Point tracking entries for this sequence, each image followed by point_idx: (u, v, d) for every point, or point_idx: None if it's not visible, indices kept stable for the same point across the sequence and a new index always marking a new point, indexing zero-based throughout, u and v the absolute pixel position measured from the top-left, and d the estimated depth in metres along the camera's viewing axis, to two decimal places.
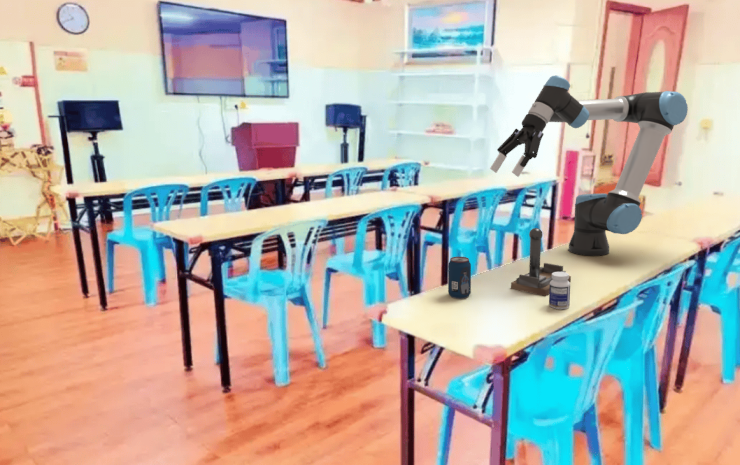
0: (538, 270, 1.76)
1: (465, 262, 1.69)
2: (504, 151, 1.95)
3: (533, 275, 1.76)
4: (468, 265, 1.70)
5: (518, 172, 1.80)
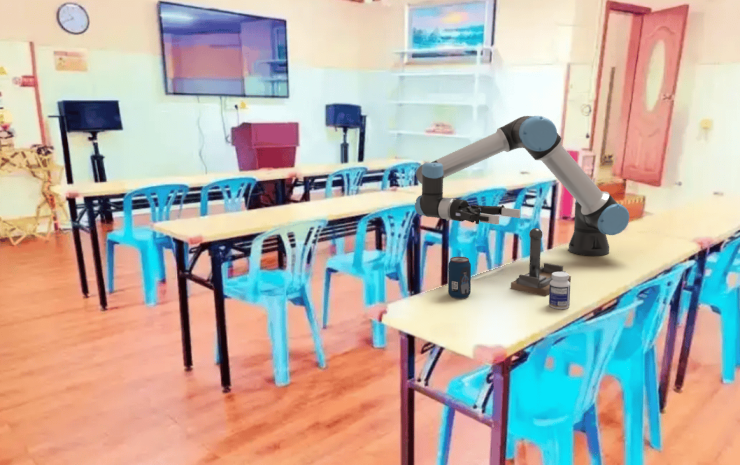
0: (538, 270, 1.76)
1: (465, 262, 1.69)
2: None
3: (533, 275, 1.76)
4: (468, 265, 1.70)
5: (495, 218, 1.76)
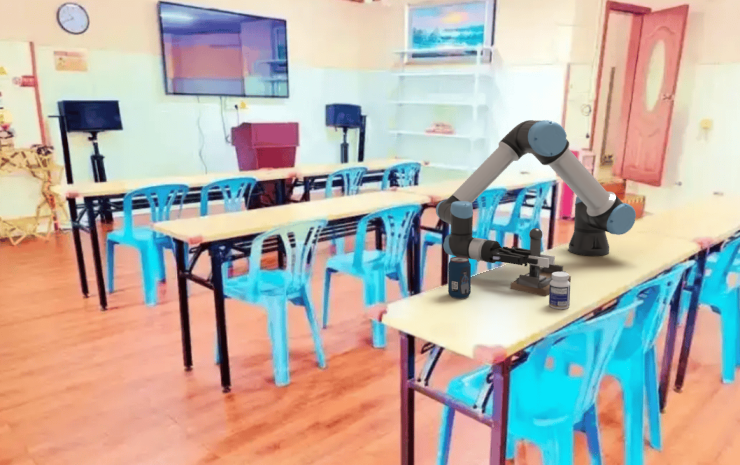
0: (538, 270, 1.76)
1: (465, 262, 1.69)
2: None
3: (533, 275, 1.76)
4: (468, 265, 1.70)
5: (544, 261, 1.72)
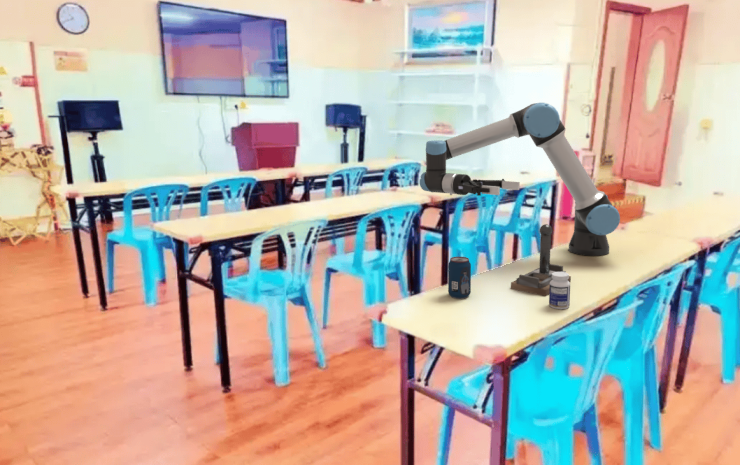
0: (548, 265, 1.81)
1: (465, 262, 1.69)
2: None
3: (543, 270, 1.81)
4: (468, 265, 1.70)
5: (495, 189, 1.86)
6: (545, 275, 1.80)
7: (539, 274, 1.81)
